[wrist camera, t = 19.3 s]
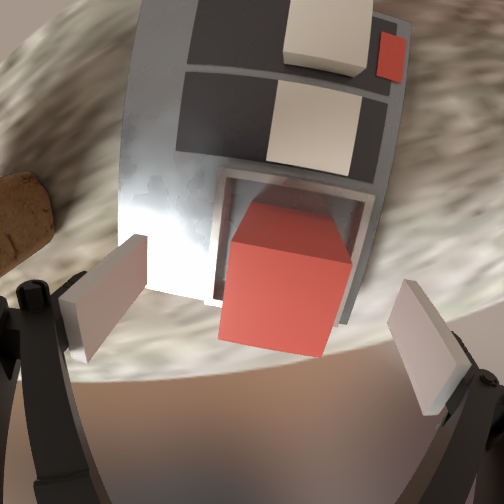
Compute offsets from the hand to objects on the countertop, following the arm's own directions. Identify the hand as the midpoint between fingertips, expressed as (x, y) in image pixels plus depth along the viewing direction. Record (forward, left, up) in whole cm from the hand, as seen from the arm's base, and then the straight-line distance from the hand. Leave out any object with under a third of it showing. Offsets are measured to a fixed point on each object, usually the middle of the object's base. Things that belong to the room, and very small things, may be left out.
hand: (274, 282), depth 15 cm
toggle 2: (+1, +7, -4) cm, 9 cm away
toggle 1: (+1, +13, -4) cm, 14 cm away
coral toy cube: (0, 0, -5) cm, 5 cm away
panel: (-3, +5, -8) cm, 10 cm away
